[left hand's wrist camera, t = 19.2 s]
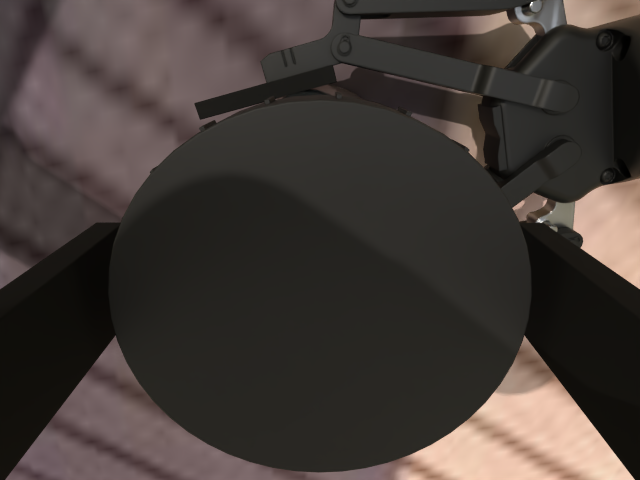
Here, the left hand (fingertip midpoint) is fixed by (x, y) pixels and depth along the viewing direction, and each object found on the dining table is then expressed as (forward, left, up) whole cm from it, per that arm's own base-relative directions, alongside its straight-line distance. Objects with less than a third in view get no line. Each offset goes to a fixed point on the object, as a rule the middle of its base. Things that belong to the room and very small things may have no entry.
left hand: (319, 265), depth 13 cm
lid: (0, 0, +3) cm, 3 cm away
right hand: (-4, -2, -10) cm, 11 cm away
